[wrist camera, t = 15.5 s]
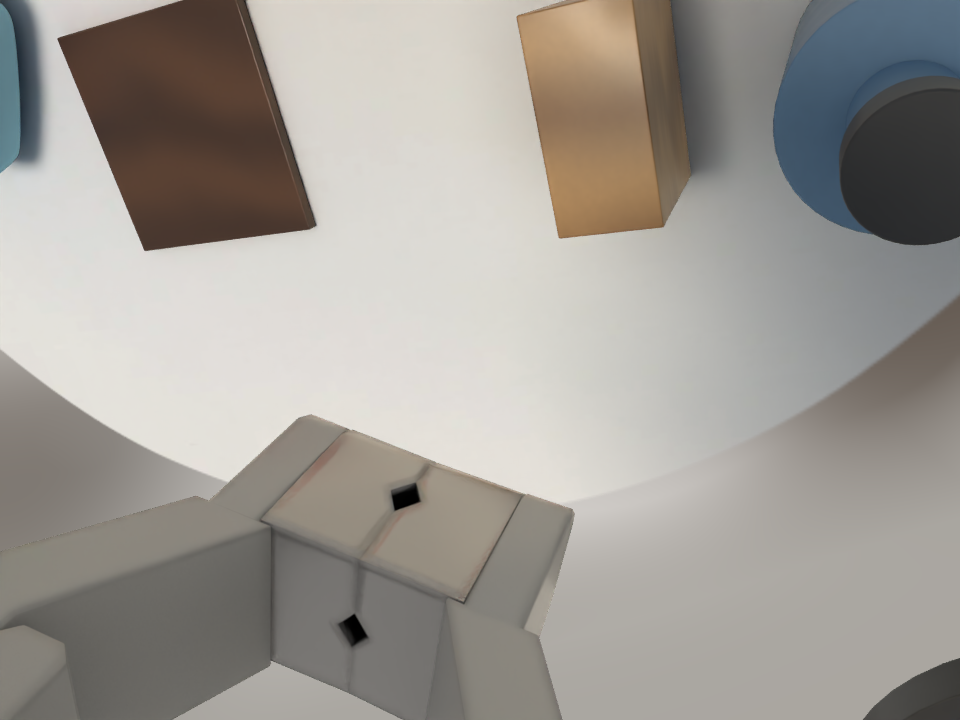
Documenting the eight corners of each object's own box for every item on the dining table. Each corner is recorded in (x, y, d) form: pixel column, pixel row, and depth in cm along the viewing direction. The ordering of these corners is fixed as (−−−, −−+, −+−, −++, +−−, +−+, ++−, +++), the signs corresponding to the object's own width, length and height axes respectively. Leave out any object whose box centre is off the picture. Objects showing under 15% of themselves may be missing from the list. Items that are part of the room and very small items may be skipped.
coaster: (316, 226, 43) (310, 229, 42) (151, 247, 48) (144, 251, 47) (239, -16, 38) (231, -15, 37) (65, 36, 43) (56, 38, 42)
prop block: (691, 176, 34) (664, 227, 29) (601, 188, 36) (558, 239, 30) (667, -25, 31) (631, -12, 26) (570, -2, 33) (515, 15, 27)
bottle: (917, 107, 32) (1486, 180, 16) (615, 186, 32) (889, 344, 16) (917, -55, 30) (1584, -161, 14) (590, 27, 29) (884, 17, 13)
